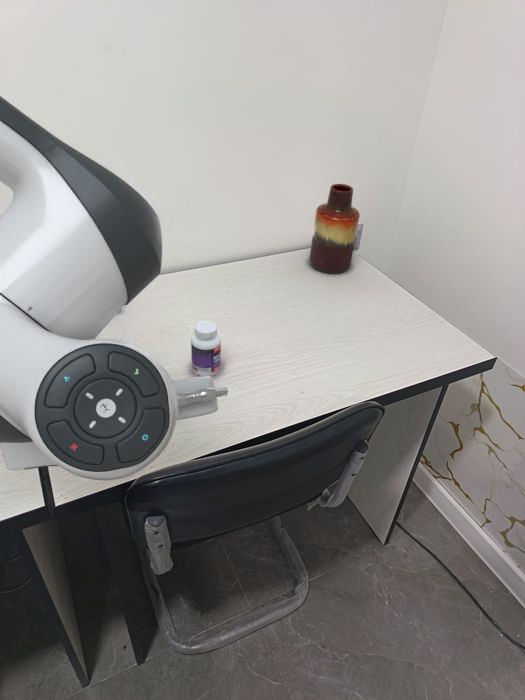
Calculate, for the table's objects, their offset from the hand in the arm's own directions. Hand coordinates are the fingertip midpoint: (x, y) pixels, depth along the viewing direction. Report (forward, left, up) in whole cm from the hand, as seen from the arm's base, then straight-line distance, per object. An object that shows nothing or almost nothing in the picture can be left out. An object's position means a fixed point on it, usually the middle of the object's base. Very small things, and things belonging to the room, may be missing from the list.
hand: (115, 412), depth 55 cm
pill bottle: (+17, +29, -22) cm, 40 cm away
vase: (+58, +62, -22) cm, 88 cm away
